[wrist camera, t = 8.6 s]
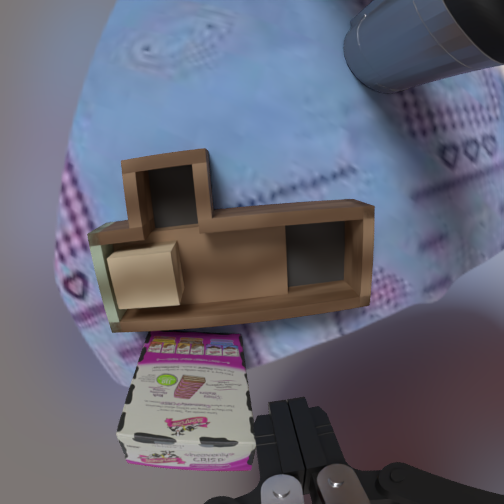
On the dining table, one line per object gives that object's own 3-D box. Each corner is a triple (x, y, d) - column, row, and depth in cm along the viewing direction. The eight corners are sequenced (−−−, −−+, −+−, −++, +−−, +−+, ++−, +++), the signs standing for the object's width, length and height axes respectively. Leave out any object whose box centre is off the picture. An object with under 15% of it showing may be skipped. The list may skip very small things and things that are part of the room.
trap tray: (98, 167, 28) (77, 169, 23) (351, 144, 29) (372, 142, 25) (124, 310, 32) (112, 332, 28) (351, 287, 34) (369, 305, 29)
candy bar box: (152, 360, 35) (124, 464, 19) (148, 327, 33) (111, 432, 18) (240, 365, 36) (252, 473, 20) (242, 332, 35) (258, 443, 19)
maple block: (120, 246, 28) (106, 258, 24) (177, 240, 29) (170, 252, 25) (130, 291, 30) (119, 309, 26) (184, 287, 30) (179, 304, 26)
